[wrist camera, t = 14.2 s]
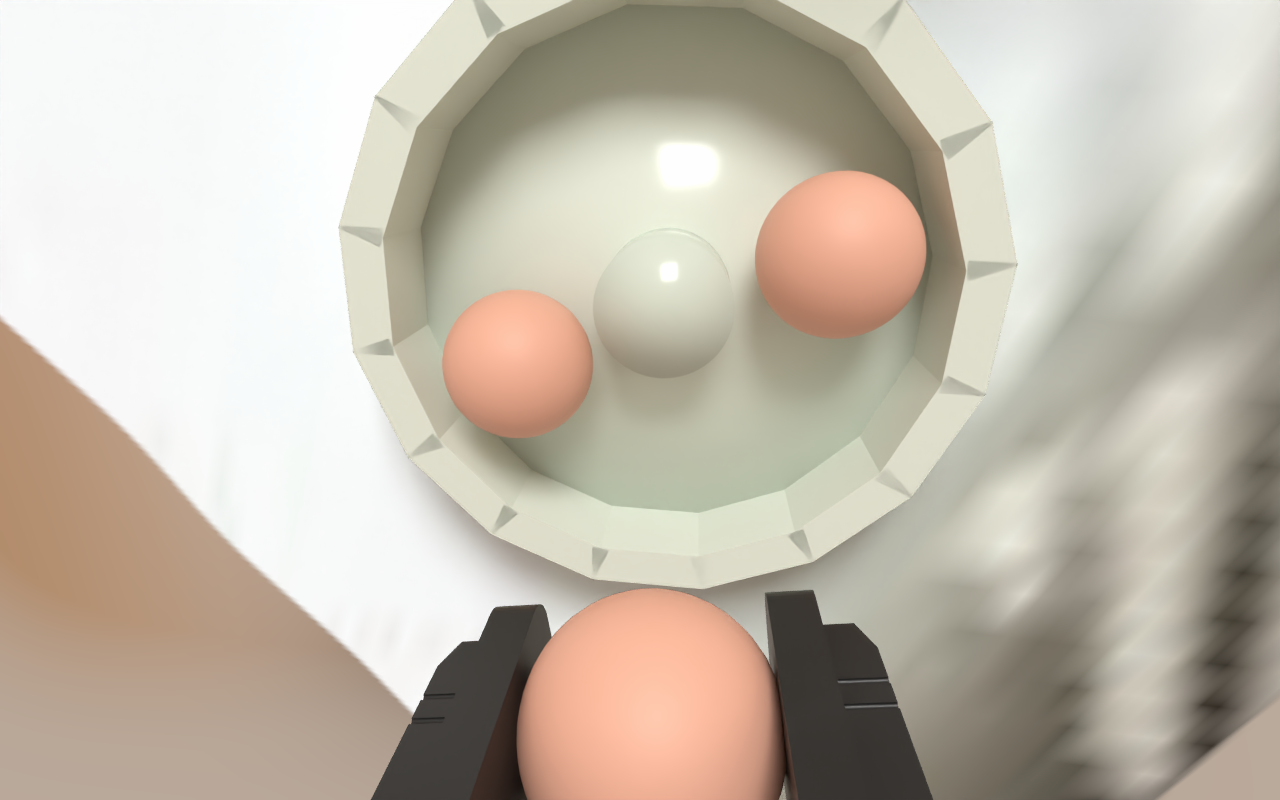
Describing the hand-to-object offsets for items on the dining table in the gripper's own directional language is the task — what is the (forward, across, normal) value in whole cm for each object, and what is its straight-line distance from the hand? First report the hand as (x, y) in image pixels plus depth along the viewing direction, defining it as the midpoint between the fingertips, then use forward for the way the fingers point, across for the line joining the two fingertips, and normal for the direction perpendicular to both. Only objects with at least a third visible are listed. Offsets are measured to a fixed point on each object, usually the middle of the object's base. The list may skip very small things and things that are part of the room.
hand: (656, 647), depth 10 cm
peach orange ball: (0, 0, 0) cm, 0 cm away
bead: (+8, +4, -3) cm, 10 cm away
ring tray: (+10, 0, -4) cm, 10 cm away
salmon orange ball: (+8, -4, -5) cm, 11 cm away
